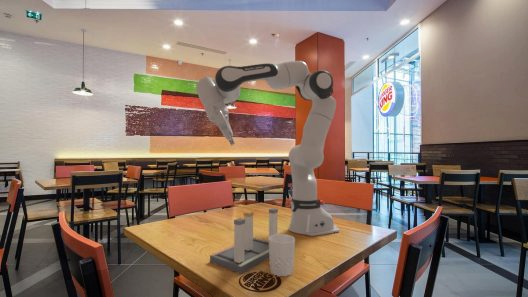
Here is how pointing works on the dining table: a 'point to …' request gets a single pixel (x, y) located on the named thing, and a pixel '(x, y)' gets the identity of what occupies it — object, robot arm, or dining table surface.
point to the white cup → (281, 254)
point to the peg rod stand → (236, 255)
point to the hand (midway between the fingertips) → (231, 142)
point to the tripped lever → (248, 230)
